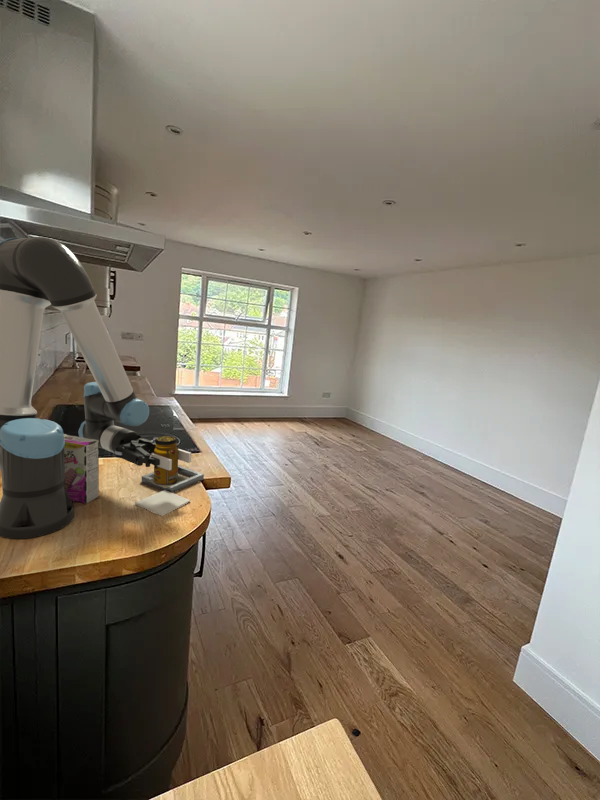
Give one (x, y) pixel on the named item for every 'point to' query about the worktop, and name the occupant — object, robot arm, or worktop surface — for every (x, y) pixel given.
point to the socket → (193, 479)
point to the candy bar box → (81, 468)
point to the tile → (162, 502)
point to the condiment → (168, 449)
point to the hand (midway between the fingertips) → (180, 461)
